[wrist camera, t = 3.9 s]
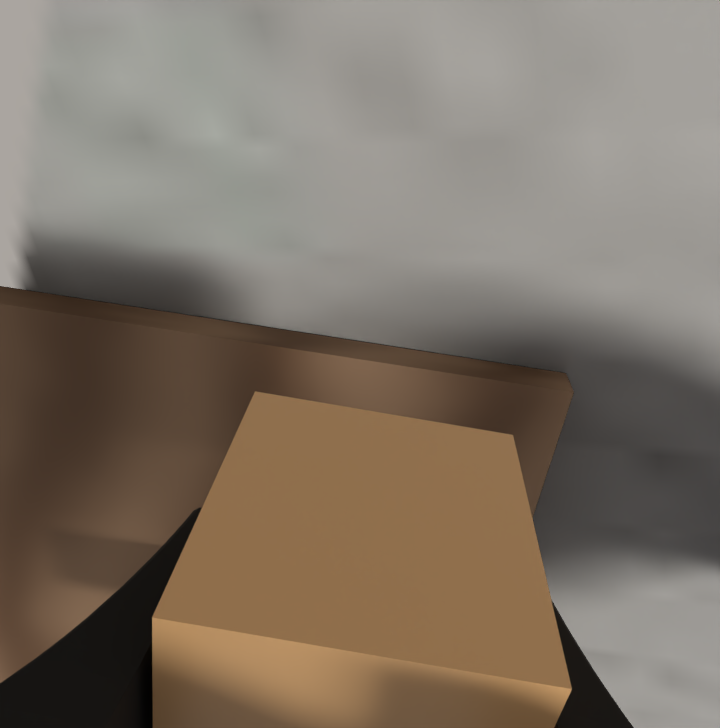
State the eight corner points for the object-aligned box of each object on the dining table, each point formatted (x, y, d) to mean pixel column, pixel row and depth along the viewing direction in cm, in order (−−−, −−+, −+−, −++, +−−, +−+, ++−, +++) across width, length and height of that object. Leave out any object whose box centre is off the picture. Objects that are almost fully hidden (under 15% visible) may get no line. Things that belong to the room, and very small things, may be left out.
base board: (565, 373, 20) (573, 392, 19) (444, 753, 30) (445, 781, 28) (-61, 276, 20) (-87, 290, 19) (15, 683, 30) (0, 708, 29)
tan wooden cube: (513, 434, 13) (572, 688, 8) (457, 616, 15) (474, 898, 10) (254, 391, 13) (152, 617, 8) (239, 579, 15) (153, 843, 10)
